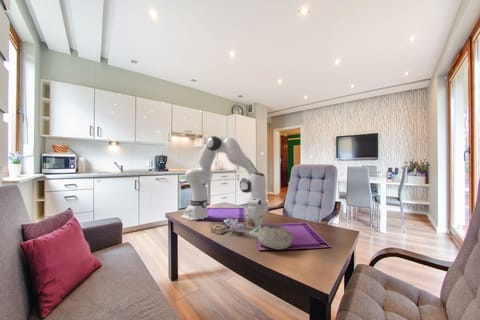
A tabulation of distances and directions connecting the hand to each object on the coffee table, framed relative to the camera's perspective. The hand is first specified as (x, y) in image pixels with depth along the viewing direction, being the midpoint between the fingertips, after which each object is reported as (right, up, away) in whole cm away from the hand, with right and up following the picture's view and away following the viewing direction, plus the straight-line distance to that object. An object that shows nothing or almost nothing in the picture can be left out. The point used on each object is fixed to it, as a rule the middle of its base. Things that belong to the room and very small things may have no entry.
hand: (259, 222), depth 117 cm
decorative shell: (+7, -8, -15) cm, 18 cm away
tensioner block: (-25, -8, +8) cm, 27 cm away
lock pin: (0, -5, 0) cm, 5 cm away
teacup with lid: (-2, -8, +14) cm, 17 cm away
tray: (0, -8, 0) cm, 8 cm away
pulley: (-19, -8, +16) cm, 26 cm away
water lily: (-14, -8, +4) cm, 17 cm away
